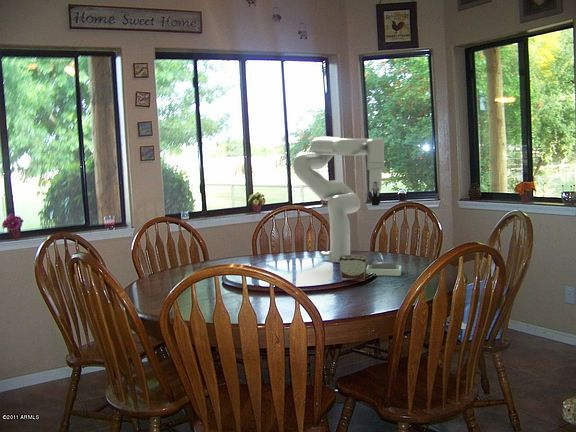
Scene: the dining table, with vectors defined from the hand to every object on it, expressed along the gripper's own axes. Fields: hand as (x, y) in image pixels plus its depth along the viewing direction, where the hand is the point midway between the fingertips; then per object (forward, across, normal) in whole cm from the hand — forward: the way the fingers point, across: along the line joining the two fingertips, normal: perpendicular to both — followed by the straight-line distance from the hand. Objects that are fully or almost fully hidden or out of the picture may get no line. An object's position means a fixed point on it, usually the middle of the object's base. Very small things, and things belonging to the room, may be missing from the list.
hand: (376, 204), depth 292 cm
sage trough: (+28, +16, +4) cm, 33 cm away
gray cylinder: (+28, +16, +4) cm, 32 cm away
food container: (+28, +29, -7) cm, 42 cm away
